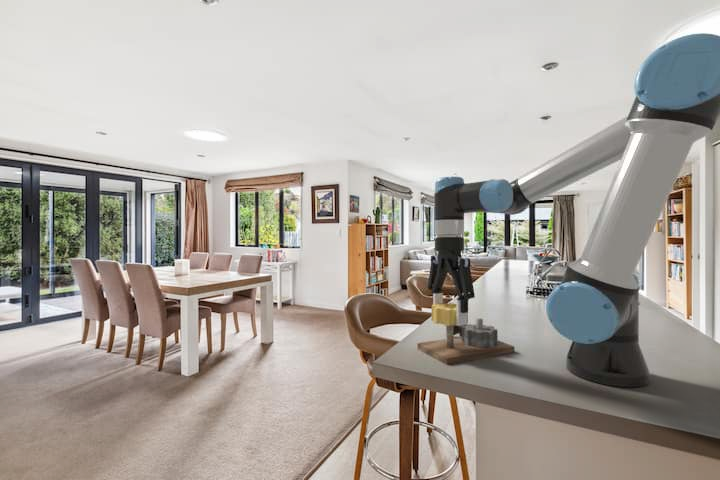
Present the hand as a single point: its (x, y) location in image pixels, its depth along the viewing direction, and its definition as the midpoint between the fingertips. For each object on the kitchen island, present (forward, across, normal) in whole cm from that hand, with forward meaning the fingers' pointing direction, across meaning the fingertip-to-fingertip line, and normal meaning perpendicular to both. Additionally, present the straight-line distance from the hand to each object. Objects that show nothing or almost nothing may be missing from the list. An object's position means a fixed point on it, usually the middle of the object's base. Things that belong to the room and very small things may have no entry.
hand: (449, 320), depth 92 cm
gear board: (+9, 0, -5) cm, 10 cm away
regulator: (+9, +10, -16) cm, 21 cm away
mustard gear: (0, 0, 0) cm, 0 cm away
